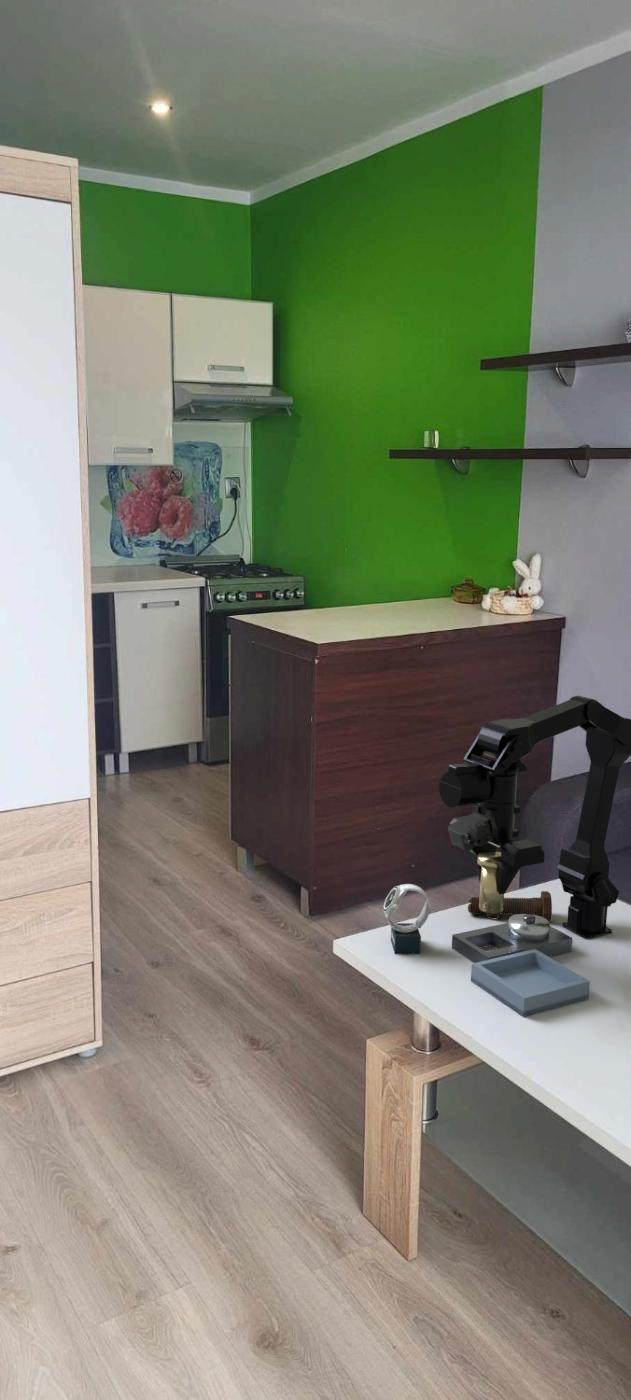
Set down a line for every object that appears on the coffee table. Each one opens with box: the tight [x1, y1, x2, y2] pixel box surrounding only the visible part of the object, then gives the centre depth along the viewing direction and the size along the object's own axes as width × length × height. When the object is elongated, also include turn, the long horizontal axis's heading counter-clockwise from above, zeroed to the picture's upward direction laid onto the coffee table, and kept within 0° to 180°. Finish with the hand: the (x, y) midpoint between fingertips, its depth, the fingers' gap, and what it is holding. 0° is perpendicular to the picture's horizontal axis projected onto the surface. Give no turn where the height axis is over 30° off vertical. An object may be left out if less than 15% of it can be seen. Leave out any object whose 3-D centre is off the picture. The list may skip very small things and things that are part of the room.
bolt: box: [467, 890, 553, 923], centre depth 197 cm, size 6×5×15 cm
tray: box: [470, 949, 591, 1017], centre depth 168 cm, size 13×13×3 cm
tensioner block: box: [451, 914, 573, 964], centre depth 182 cm, size 18×10×6 cm, turn 119°
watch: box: [382, 883, 431, 955], centre depth 182 cm, size 6×8×11 cm
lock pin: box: [477, 850, 505, 913], centre depth 178 cm, size 5×5×9 cm
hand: (492, 888), depth 178 cm, fingers closed on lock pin, 5 cm apart
